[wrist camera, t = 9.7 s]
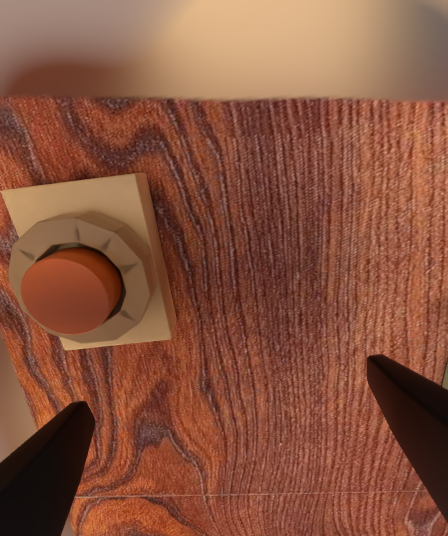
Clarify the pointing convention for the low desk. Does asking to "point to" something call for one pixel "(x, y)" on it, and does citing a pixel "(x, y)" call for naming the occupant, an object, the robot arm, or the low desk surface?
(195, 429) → the low desk surface
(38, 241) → the button block
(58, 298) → the button
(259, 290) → the low desk surface
